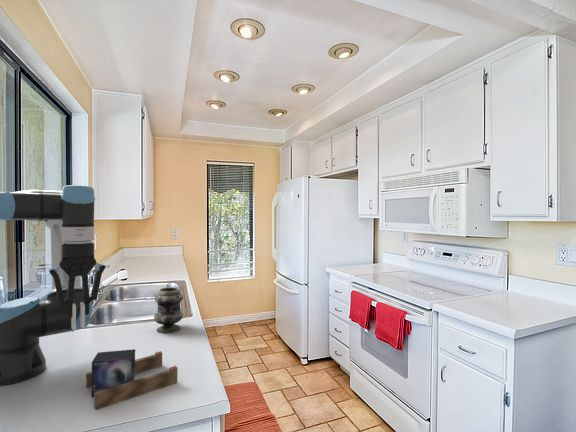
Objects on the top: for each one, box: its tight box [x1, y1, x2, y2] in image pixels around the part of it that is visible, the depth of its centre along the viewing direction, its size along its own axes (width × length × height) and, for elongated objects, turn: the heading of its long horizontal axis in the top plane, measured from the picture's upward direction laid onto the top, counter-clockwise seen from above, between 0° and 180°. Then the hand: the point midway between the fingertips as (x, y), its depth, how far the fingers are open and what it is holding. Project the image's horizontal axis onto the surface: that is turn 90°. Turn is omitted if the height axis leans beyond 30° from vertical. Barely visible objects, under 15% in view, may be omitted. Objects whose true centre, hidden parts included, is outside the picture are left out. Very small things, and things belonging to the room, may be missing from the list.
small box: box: [91, 348, 136, 398], centre depth 95 cm, size 11×6×10 cm, turn 105°
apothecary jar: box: [153, 286, 184, 334], centre depth 144 cm, size 12×12×18 cm
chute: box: [85, 350, 178, 411], centre depth 98 cm, size 22×15×5 cm
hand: (78, 327), depth 89 cm, fingers closed
